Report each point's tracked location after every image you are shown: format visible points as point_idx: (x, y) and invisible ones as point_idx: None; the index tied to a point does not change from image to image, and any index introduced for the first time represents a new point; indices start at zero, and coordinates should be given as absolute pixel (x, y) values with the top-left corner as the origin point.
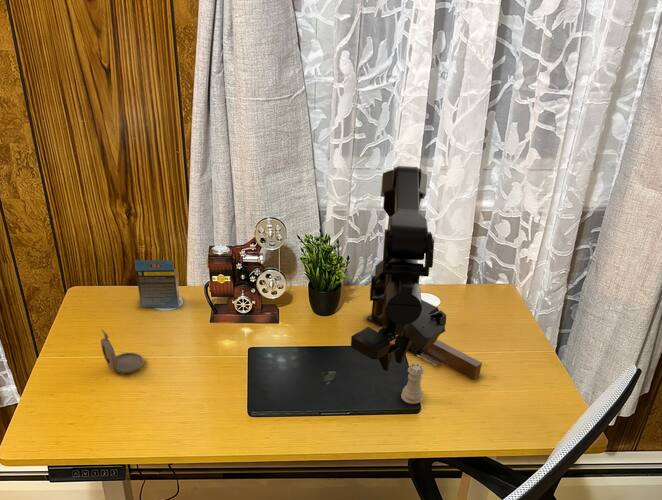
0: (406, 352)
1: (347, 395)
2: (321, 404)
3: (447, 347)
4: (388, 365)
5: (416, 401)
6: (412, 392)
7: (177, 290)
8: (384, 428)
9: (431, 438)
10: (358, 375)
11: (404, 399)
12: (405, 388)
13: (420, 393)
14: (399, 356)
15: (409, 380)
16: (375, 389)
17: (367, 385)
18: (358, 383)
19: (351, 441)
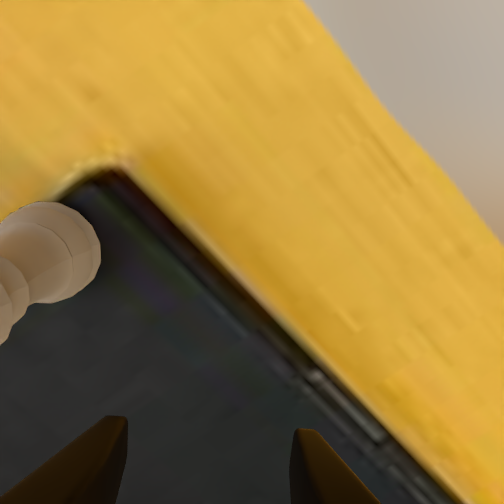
0: (12, 491)
1: (229, 435)
2: None
3: None
4: (354, 484)
5: (67, 213)
6: (59, 247)
7: None
8: (302, 219)
9: (221, 11)
10: None
11: (95, 262)
12: (59, 291)
13: (25, 219)
14: (101, 490)
15: (29, 298)
16: (122, 385)
17: None
18: (141, 448)
19: (452, 270)
